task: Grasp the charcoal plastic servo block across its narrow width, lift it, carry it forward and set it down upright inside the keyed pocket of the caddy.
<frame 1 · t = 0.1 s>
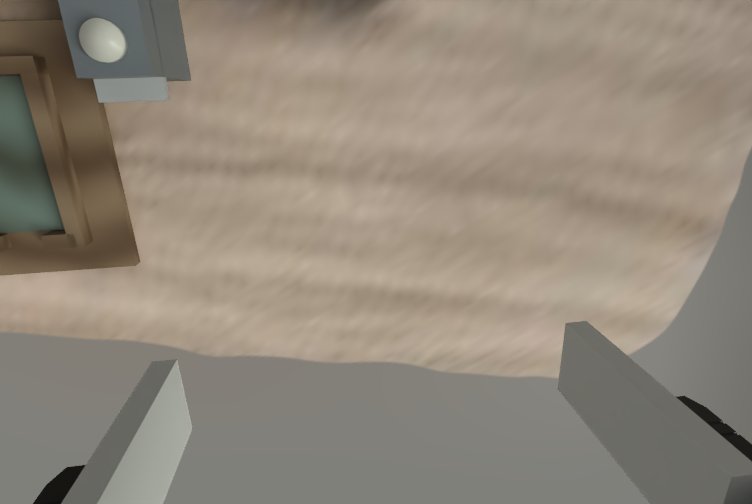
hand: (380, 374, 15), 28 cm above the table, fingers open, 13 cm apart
servo: (154, 34, 35), on the table
caddy: (14, 157, 37), on the table
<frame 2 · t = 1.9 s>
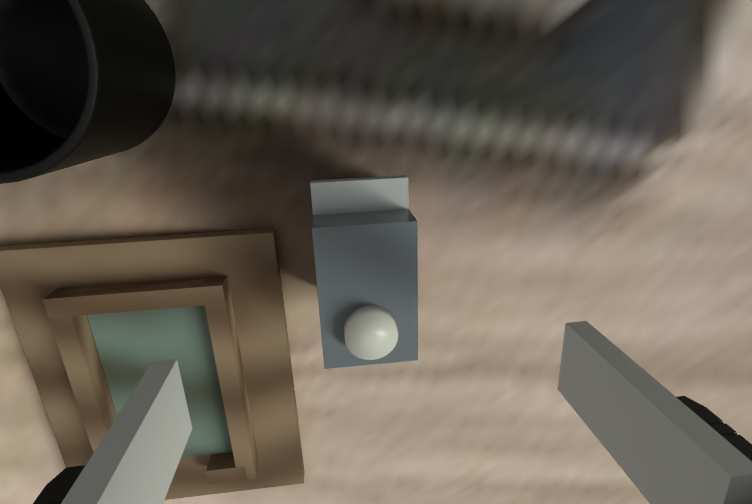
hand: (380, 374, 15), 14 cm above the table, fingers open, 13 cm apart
servo: (355, 237, 28), on the table
caddy: (173, 375, 30), on the table
mug: (76, 37, 23), on the table
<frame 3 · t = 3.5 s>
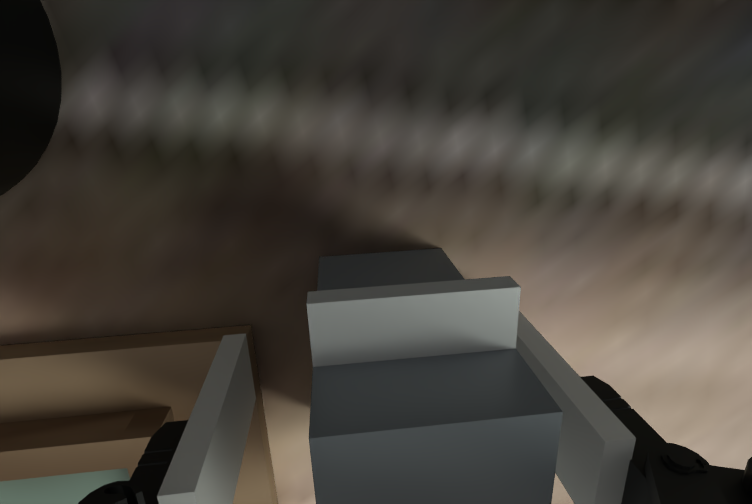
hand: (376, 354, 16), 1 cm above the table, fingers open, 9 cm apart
servo: (383, 336, 17), on the table
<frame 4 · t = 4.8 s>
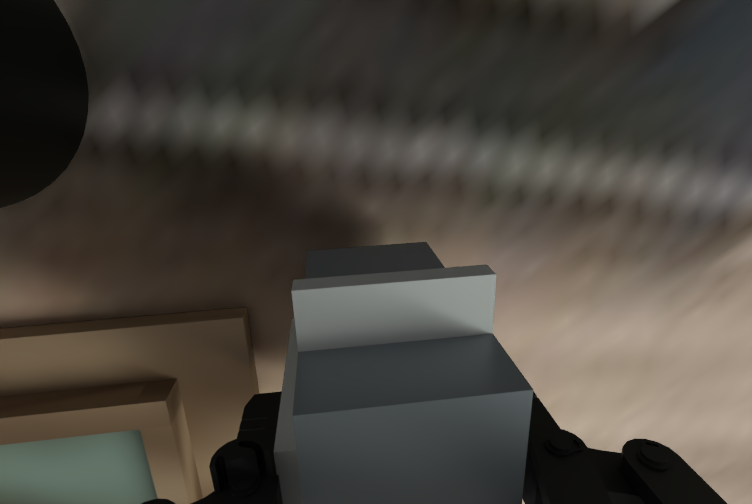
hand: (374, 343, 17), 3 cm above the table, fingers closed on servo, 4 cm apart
servo: (371, 328, 18), point 2 cm above the table, touching gripper
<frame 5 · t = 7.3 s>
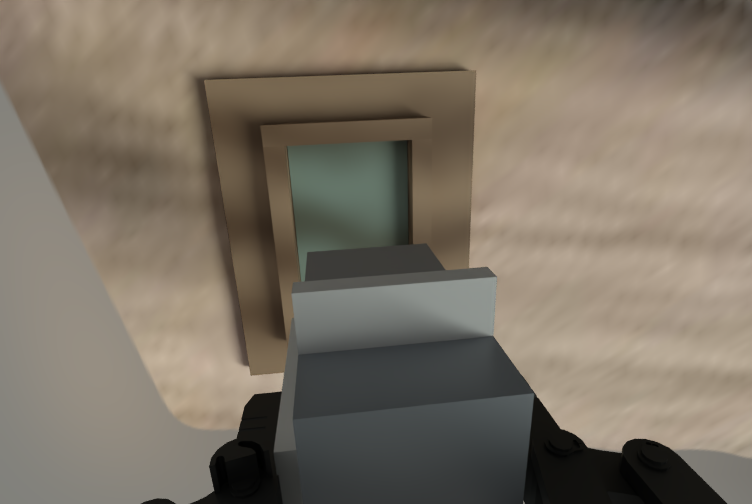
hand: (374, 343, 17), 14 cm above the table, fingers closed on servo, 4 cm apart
servo: (371, 329, 18), point 13 cm above the table, touching gripper
caddy: (352, 232, 30), on the table
when the fingers open (3 cm above the table, at t = 9.8 s): servo drops 1 cm, resting on caddy.
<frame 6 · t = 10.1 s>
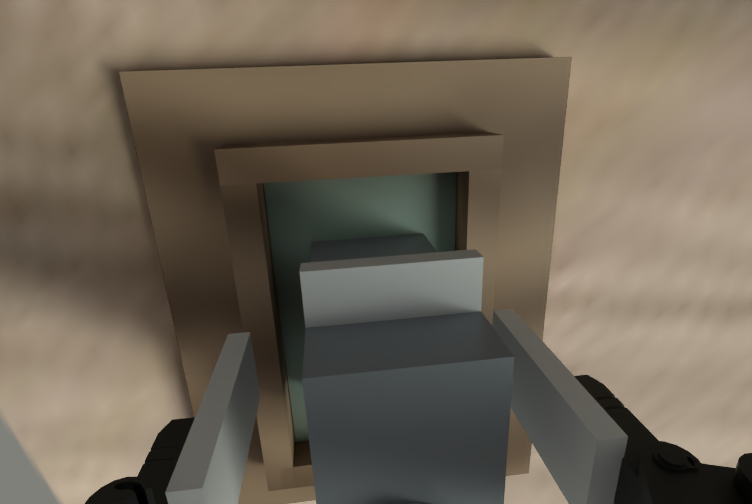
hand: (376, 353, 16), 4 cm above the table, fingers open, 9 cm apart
servo: (372, 315, 19), point 1 cm above the table, touching caddy
caddy: (366, 305, 20), on the table
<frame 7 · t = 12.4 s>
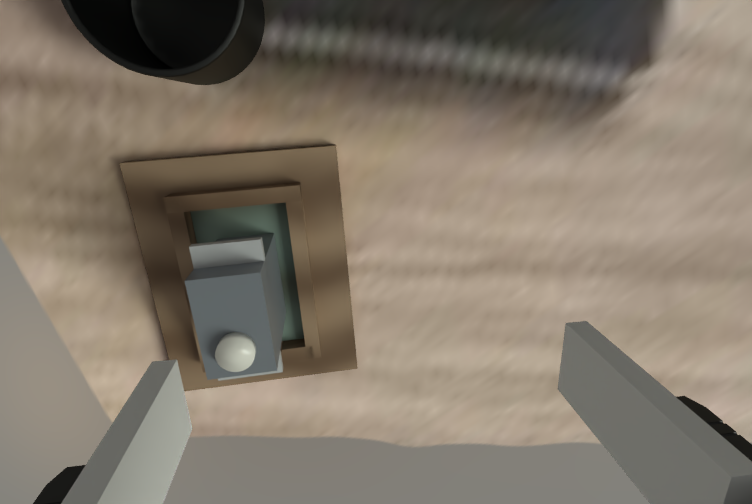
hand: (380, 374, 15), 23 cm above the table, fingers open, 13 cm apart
servo: (252, 276, 36), point 1 cm above the table, touching caddy
caddy: (253, 272, 37), on the table
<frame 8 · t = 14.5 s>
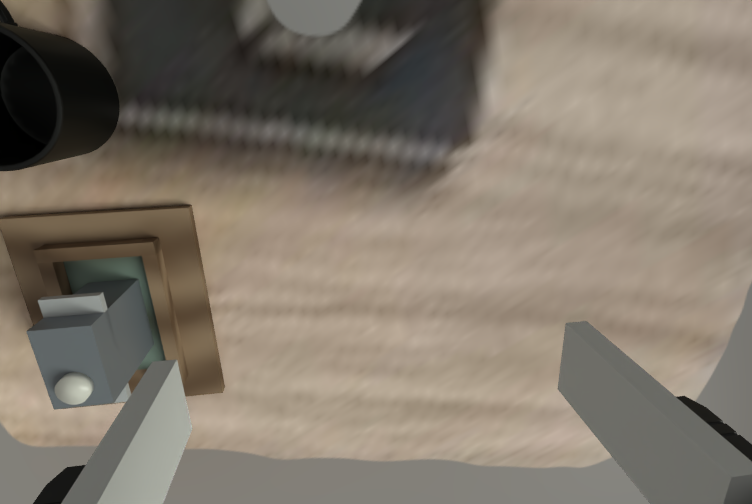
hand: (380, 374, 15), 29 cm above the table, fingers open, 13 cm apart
servo: (122, 314, 42), point 1 cm above the table, touching caddy
caddy: (125, 309, 43), on the table
mug: (55, 81, 36), on the table
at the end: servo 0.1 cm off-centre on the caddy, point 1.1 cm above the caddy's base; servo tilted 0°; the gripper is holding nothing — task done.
